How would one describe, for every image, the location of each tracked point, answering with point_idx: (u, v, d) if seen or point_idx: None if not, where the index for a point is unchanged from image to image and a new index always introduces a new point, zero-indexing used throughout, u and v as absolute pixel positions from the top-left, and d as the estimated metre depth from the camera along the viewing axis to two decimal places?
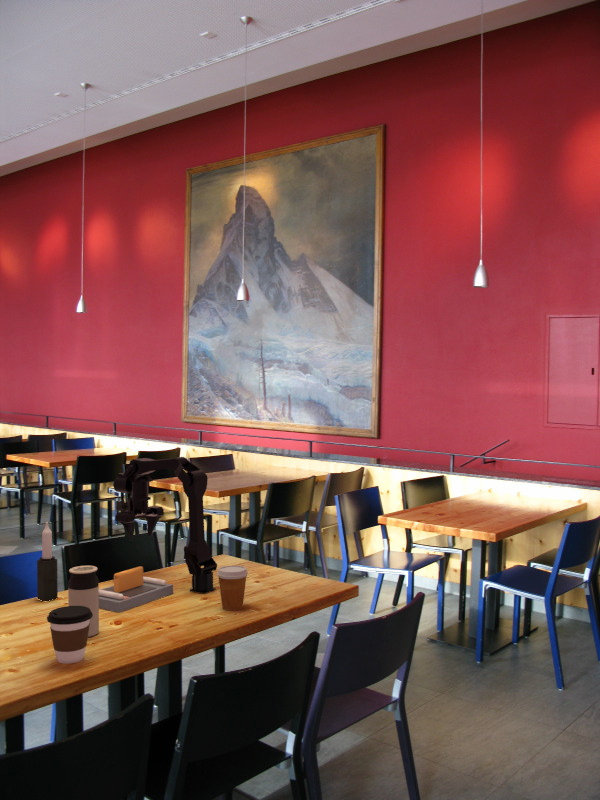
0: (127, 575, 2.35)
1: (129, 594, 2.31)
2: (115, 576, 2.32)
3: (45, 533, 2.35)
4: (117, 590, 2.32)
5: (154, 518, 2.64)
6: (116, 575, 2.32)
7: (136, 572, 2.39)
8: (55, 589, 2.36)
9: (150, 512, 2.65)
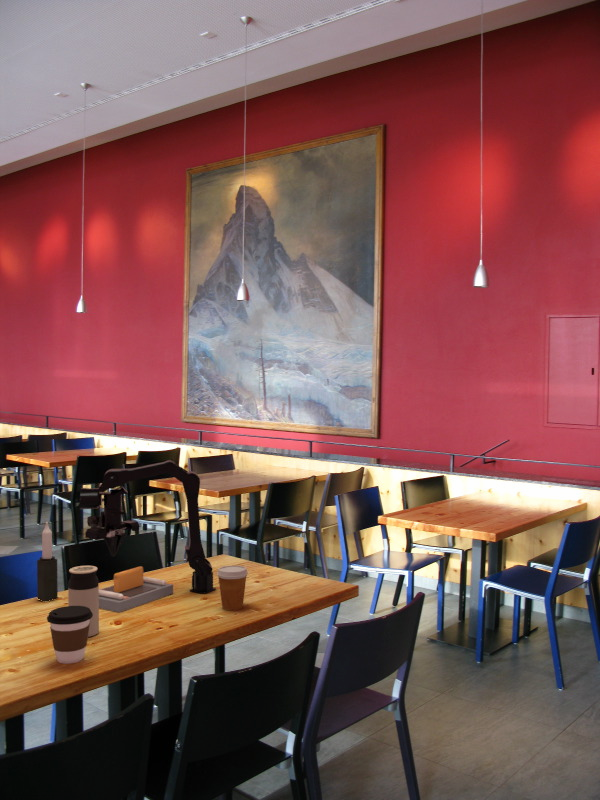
0: (127, 575, 2.35)
1: (129, 594, 2.31)
2: (115, 576, 2.32)
3: (45, 533, 2.35)
4: (117, 590, 2.32)
5: (119, 536, 2.40)
6: (116, 575, 2.32)
7: (136, 572, 2.39)
8: (55, 589, 2.36)
9: None
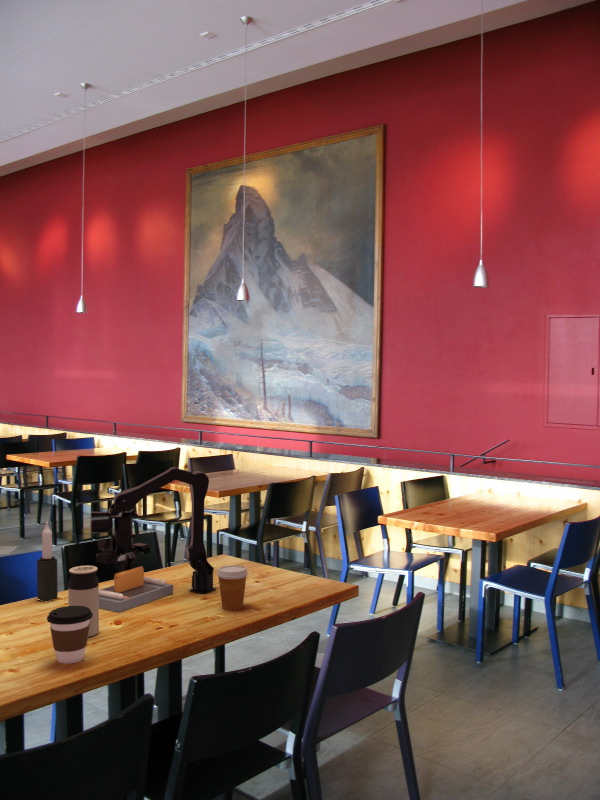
0: (127, 575, 2.35)
1: (129, 594, 2.31)
2: (116, 577, 2.32)
3: (45, 533, 2.35)
4: (117, 590, 2.32)
5: (129, 560, 2.38)
6: (116, 575, 2.32)
7: (136, 572, 2.38)
8: (55, 589, 2.36)
9: None
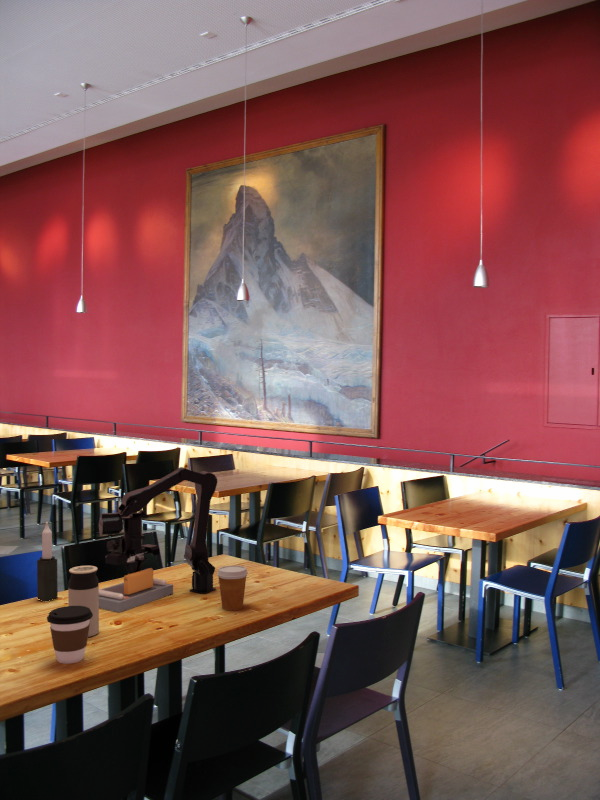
0: (137, 577, 2.33)
1: (129, 594, 2.31)
2: (125, 578, 2.30)
3: (45, 533, 2.35)
4: (127, 592, 2.30)
5: (139, 561, 2.35)
6: (126, 577, 2.30)
7: (146, 574, 2.36)
8: (55, 589, 2.36)
9: None
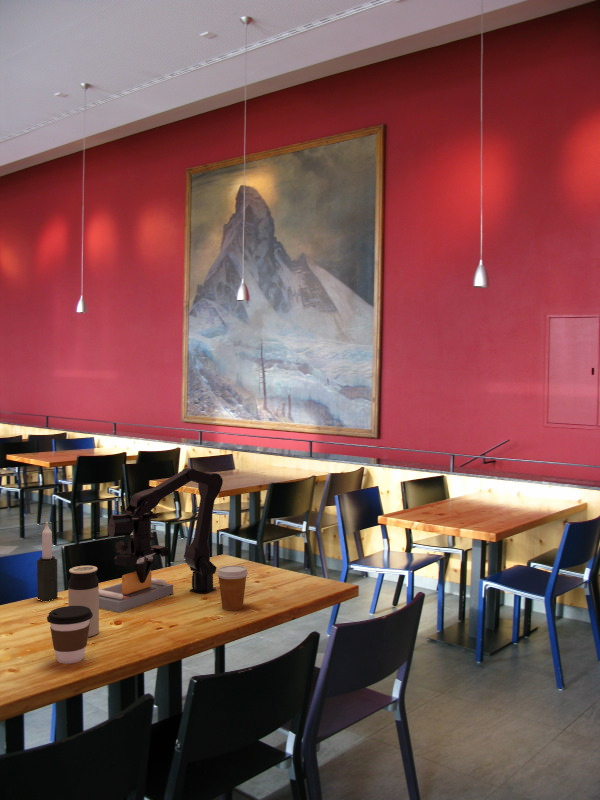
0: (135, 576, 2.33)
1: (129, 594, 2.31)
2: (123, 578, 2.31)
3: (45, 533, 2.35)
4: (125, 592, 2.30)
5: (148, 562, 2.33)
6: (124, 577, 2.30)
7: None
8: (55, 589, 2.36)
9: (153, 553, 2.38)
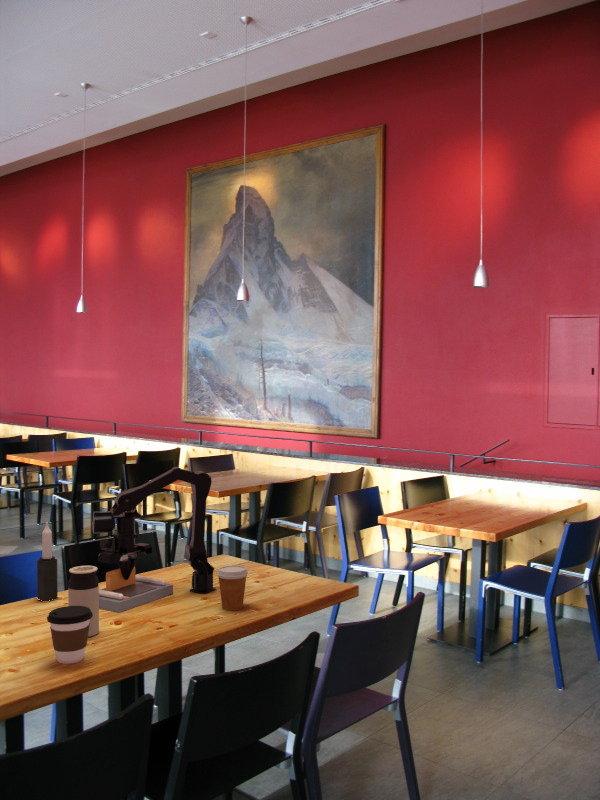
0: (119, 574, 2.37)
1: (129, 594, 2.31)
2: (107, 575, 2.34)
3: (45, 533, 2.35)
4: (109, 588, 2.34)
5: (132, 560, 2.37)
6: (108, 574, 2.34)
7: None
8: (55, 589, 2.36)
9: None
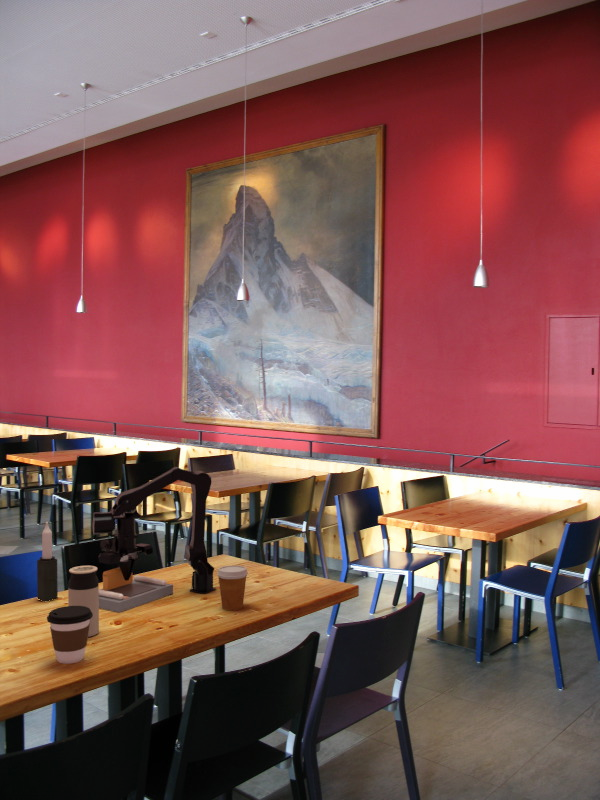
0: (116, 573, 2.38)
1: (129, 594, 2.31)
2: (104, 574, 2.35)
3: (45, 533, 2.35)
4: (106, 588, 2.35)
5: (132, 560, 2.37)
6: (105, 573, 2.35)
7: None
8: (55, 589, 2.36)
9: (138, 551, 2.41)
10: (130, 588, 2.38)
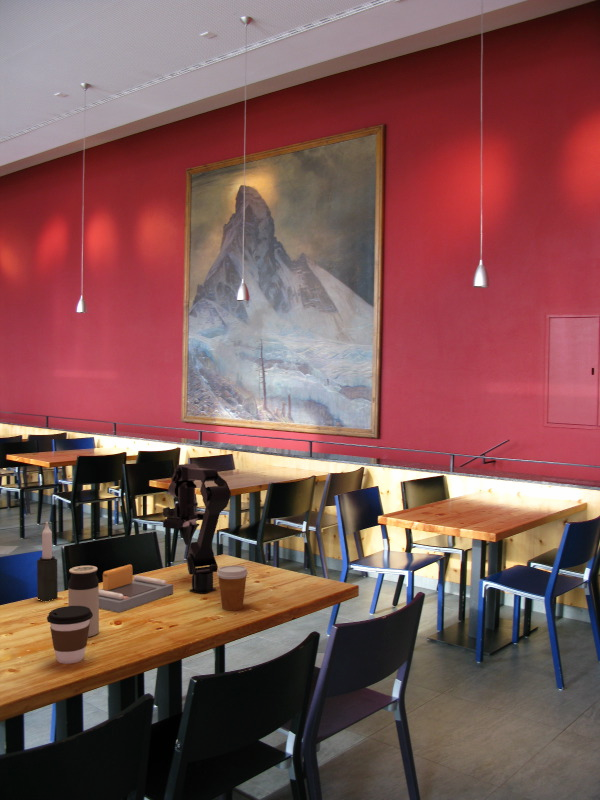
0: (116, 573, 2.38)
1: (129, 594, 2.31)
2: (104, 574, 2.35)
3: (45, 533, 2.35)
4: (106, 588, 2.35)
5: (192, 526, 2.57)
6: (105, 573, 2.35)
7: (125, 570, 2.41)
8: (55, 589, 2.36)
9: (196, 518, 2.62)
10: (130, 588, 2.38)
